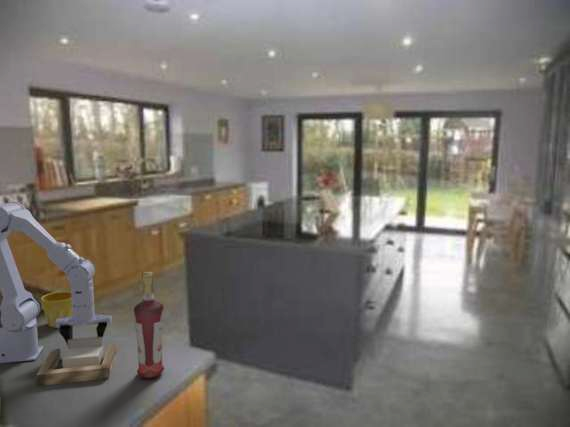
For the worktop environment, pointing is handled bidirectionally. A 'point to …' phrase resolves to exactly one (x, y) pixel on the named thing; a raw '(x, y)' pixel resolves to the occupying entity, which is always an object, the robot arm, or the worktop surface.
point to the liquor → (149, 331)
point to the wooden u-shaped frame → (74, 369)
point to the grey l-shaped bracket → (83, 352)
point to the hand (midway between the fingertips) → (85, 348)
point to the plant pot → (57, 306)
